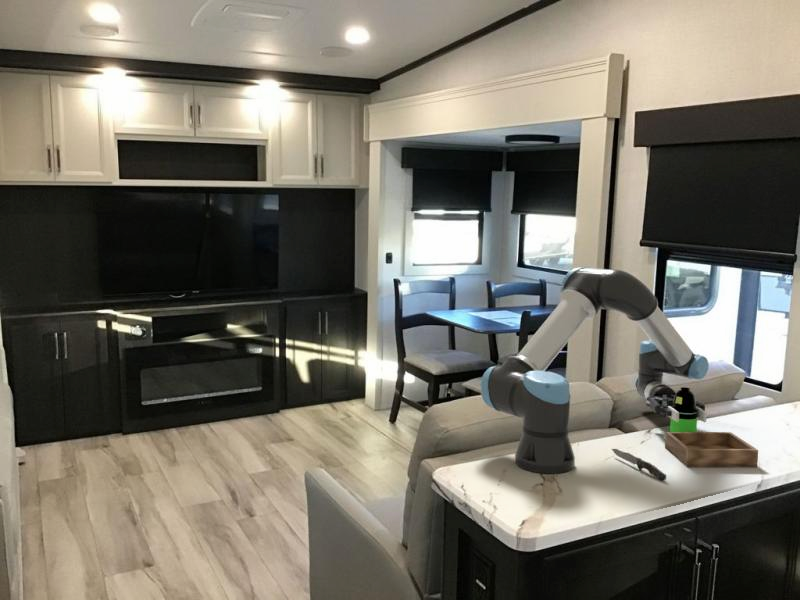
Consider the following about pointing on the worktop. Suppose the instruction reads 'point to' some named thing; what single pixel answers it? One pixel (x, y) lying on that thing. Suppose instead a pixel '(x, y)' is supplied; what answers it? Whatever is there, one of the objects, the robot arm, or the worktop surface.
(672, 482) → the worktop surface
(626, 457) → the knife
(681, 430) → the bottle
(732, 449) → the crate
